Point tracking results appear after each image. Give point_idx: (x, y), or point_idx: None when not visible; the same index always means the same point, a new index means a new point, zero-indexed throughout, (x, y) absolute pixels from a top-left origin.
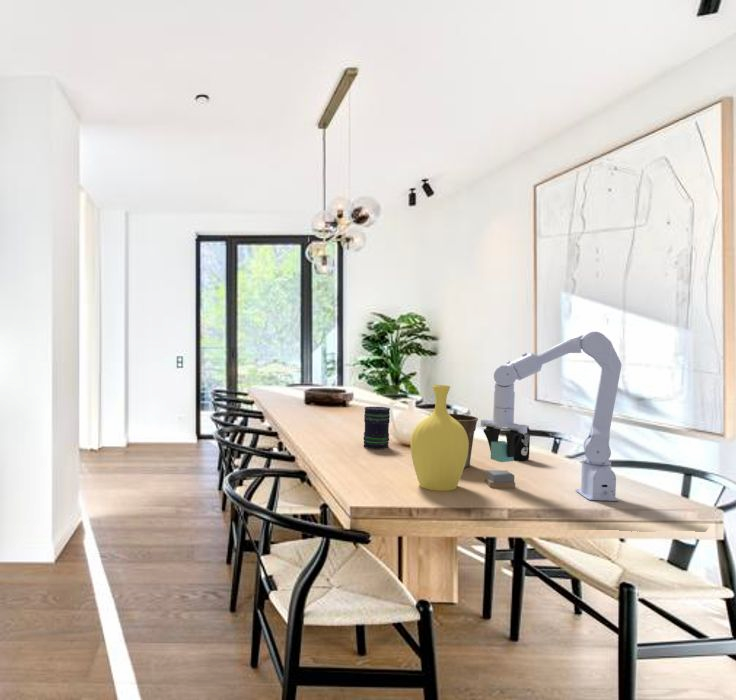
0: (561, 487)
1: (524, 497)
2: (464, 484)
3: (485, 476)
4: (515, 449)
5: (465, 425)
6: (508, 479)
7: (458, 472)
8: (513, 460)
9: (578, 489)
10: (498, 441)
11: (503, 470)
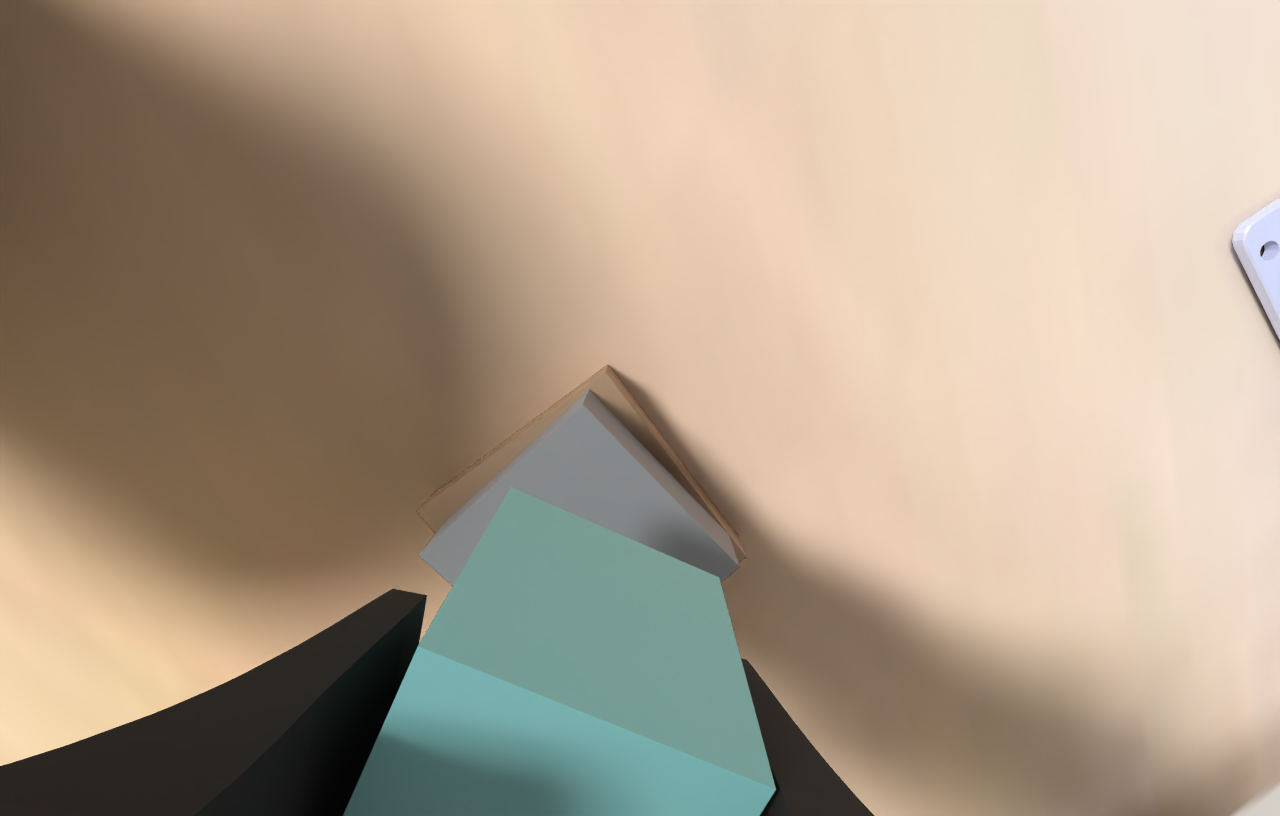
0: (1086, 189)
1: (884, 723)
2: None
3: (423, 511)
4: (799, 737)
5: None
6: None
7: None
8: (719, 579)
9: (1274, 238)
10: (388, 808)
11: (556, 436)
